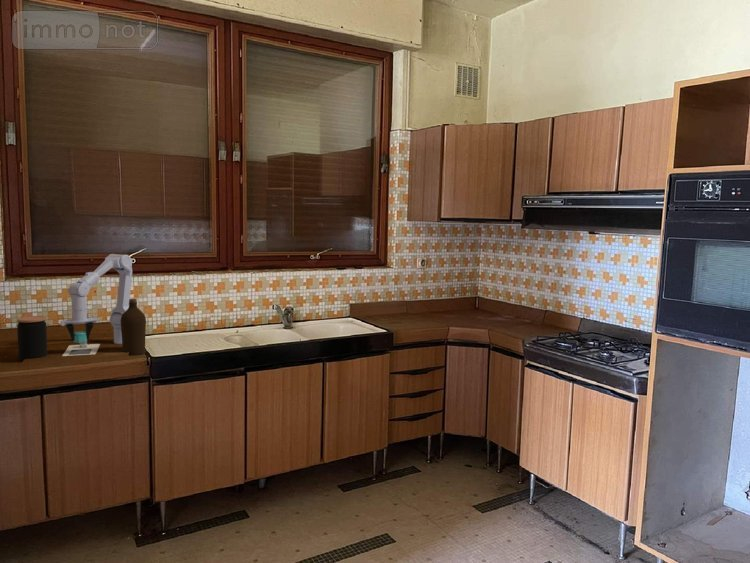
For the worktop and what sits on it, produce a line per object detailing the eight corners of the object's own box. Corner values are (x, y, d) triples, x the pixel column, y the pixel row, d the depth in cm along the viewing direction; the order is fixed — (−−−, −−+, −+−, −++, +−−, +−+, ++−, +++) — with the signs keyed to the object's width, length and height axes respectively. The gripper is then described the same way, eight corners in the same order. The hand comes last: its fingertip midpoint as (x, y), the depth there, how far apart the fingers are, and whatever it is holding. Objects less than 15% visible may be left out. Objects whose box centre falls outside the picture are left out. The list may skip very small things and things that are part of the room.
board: (100, 346, 266) (100, 343, 266) (95, 357, 247) (95, 354, 247) (69, 348, 262) (69, 345, 261) (62, 359, 242) (62, 356, 242)
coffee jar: (51, 356, 247) (50, 315, 245) (41, 362, 237) (40, 320, 235) (25, 356, 246) (23, 315, 244) (14, 362, 235) (12, 320, 233)
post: (87, 346, 261) (87, 337, 260) (86, 347, 258) (86, 339, 257) (80, 346, 259) (79, 338, 259) (79, 348, 257) (79, 339, 256)
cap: (85, 339, 253) (85, 330, 252) (87, 341, 248) (87, 332, 248) (72, 340, 249) (72, 332, 249) (74, 342, 245) (74, 333, 245)
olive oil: (133, 356, 250) (132, 301, 247) (116, 354, 254) (114, 299, 251) (151, 352, 259) (150, 298, 256) (134, 349, 263) (133, 296, 261)
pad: (91, 349, 255) (91, 348, 254) (89, 353, 247) (89, 352, 247) (71, 350, 252) (71, 349, 252) (69, 354, 244) (69, 353, 244)
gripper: (95, 307, 255) (96, 336, 256) (59, 309, 246) (60, 340, 247) (98, 309, 249) (99, 339, 251) (61, 312, 240) (62, 343, 242)
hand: (80, 340), depth 249 cm, fingers closed on cap, 5 cm apart
